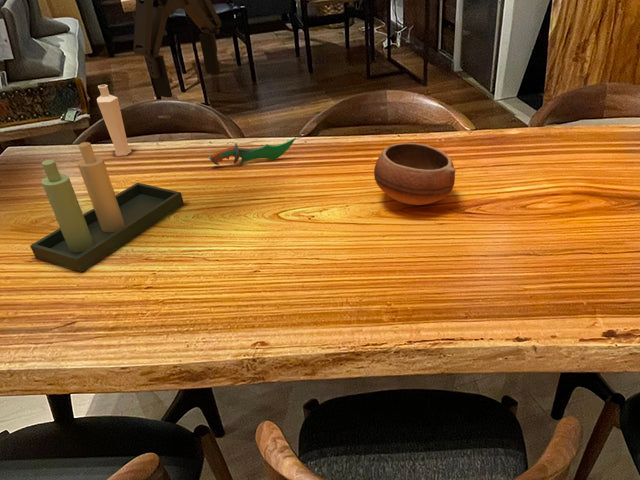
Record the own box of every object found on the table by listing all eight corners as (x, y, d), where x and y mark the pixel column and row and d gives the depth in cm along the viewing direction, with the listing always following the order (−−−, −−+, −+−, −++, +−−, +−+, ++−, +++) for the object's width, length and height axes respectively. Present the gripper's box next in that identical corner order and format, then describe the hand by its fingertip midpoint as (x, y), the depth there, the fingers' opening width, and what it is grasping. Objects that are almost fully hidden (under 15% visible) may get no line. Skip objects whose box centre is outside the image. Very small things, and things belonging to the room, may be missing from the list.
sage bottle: (63, 249, 113) (28, 165, 102) (82, 238, 116) (49, 154, 105) (81, 255, 112) (47, 169, 101) (99, 243, 114) (67, 159, 104)
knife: (211, 169, 138) (206, 147, 135) (210, 166, 140) (205, 144, 136) (299, 158, 142) (296, 136, 138) (298, 154, 143) (295, 133, 140)
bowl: (462, 214, 120) (465, 164, 113) (381, 222, 118) (380, 172, 112) (443, 179, 131) (445, 131, 125) (369, 186, 130) (368, 139, 123)
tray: (35, 258, 112) (29, 245, 111) (140, 194, 130) (137, 182, 129) (81, 272, 108) (76, 259, 107) (184, 204, 126) (181, 192, 125)
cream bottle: (96, 229, 118) (65, 147, 108) (112, 219, 121) (84, 137, 110) (113, 234, 117) (84, 151, 106) (129, 223, 120) (103, 141, 109)
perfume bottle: (133, 154, 146) (114, 87, 136) (114, 157, 145) (93, 90, 135) (132, 147, 149) (113, 81, 139) (113, 150, 148) (92, 84, 138)
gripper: (121, -43, 88) (159, 110, 103) (226, -69, 105) (247, 66, 119) (82, -46, 91) (125, 103, 105) (191, -70, 107) (215, 62, 122)
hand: (190, 84), depth 112 cm, fingers open, 13 cm apart
